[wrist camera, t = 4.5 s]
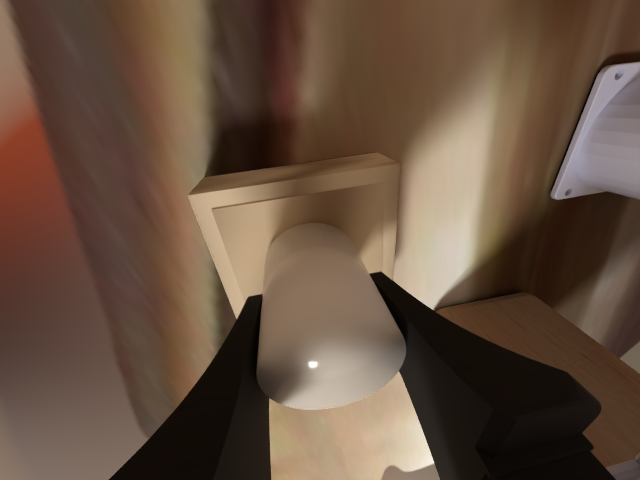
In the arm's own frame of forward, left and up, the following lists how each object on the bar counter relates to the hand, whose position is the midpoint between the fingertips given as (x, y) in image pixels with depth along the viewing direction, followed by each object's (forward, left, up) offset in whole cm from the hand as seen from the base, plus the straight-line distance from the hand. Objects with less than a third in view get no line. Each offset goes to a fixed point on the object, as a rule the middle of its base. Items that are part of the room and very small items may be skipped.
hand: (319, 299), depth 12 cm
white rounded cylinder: (0, 0, -2) cm, 2 cm away
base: (0, 0, -6) cm, 6 cm away
